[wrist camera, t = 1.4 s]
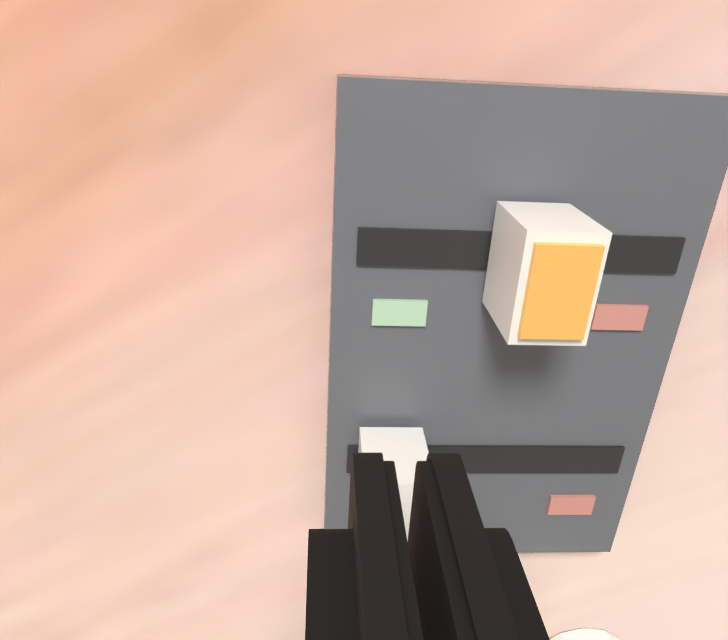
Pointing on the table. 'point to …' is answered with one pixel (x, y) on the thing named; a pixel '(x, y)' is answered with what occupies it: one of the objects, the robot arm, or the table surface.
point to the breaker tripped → (544, 272)
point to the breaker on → (397, 456)
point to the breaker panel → (468, 273)
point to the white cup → (585, 635)
